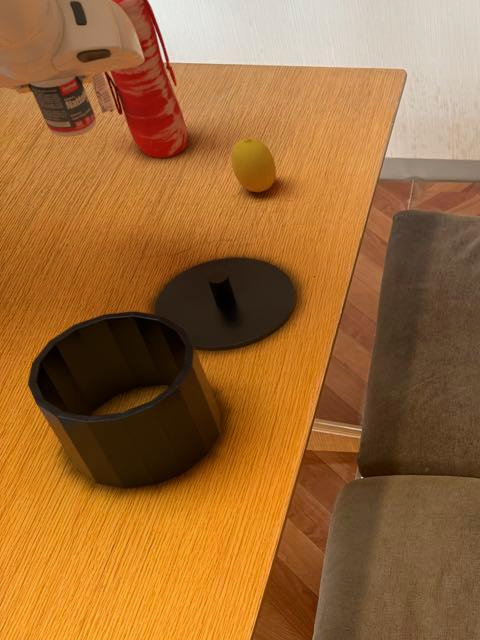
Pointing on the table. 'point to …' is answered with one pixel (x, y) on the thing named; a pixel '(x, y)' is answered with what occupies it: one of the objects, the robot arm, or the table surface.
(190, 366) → the trash can
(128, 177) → the table surface
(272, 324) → the bin lid
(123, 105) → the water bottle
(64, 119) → the pill bottle
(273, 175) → the lemon
